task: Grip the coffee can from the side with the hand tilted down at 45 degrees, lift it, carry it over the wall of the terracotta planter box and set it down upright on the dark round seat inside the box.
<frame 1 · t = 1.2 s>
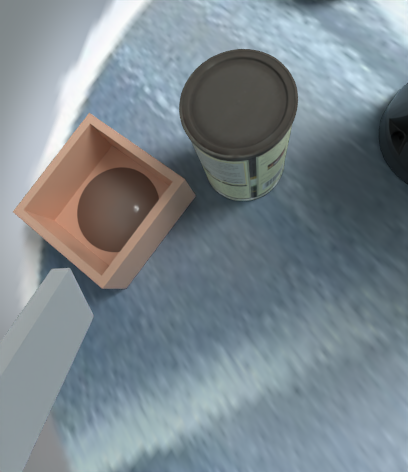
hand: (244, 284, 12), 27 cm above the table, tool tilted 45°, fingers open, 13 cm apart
coffee can: (243, 164, 42), on the table
planter box: (119, 209, 43), on the table
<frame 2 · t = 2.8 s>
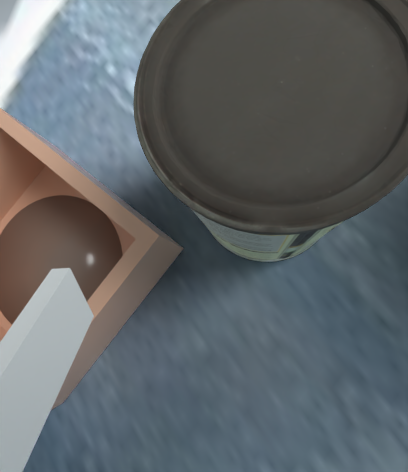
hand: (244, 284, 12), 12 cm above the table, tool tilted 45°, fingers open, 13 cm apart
coffee can: (264, 196, 25), on the table
planter box: (58, 265, 26), on the table
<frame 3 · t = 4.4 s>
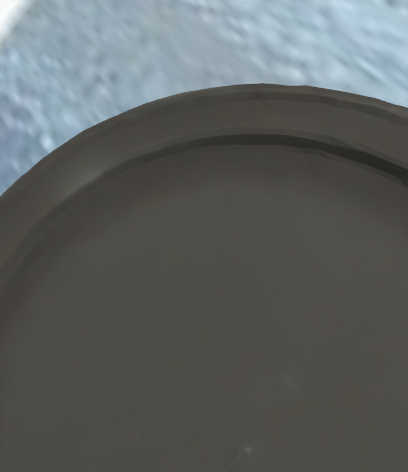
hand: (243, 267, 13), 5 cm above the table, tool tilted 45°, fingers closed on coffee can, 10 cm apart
coffee can: (250, 329, 18), on the table, touching gripper
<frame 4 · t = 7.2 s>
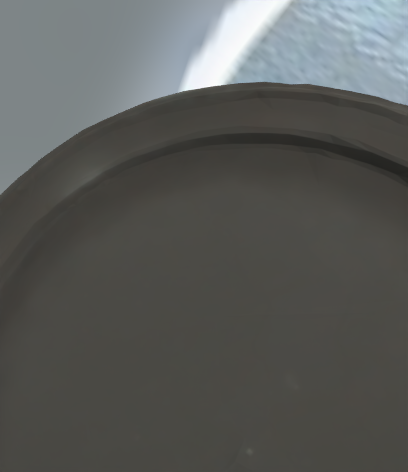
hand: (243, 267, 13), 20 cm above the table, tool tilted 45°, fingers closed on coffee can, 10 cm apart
coffee can: (250, 329, 18), point 14 cm above the table, touching gripper
when the fingers open (8 cm above the table, at t = 10.0 s): coffee can drops 2 cm, resting on planter box.
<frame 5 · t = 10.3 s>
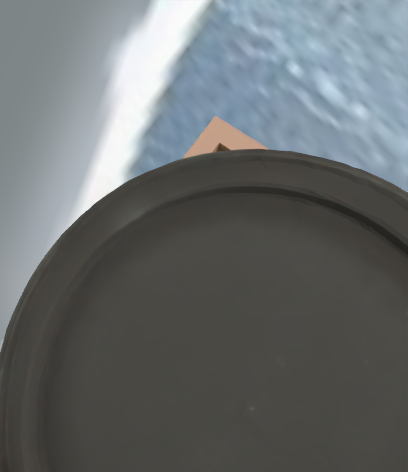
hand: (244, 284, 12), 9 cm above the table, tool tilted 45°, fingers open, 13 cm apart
coffee can: (250, 327, 20), resting on planter box
planter box: (251, 325, 20), on the table
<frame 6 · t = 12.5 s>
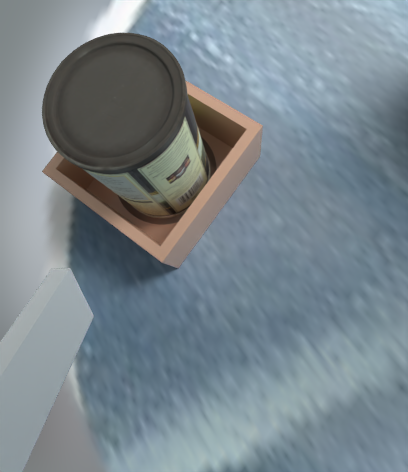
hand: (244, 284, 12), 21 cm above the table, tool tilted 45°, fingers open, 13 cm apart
coffee can: (164, 174, 36), resting on planter box
planter box: (165, 175, 36), on the table
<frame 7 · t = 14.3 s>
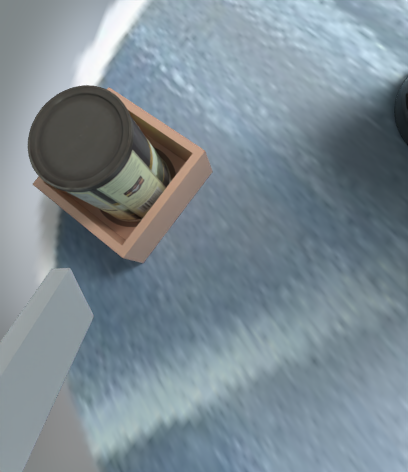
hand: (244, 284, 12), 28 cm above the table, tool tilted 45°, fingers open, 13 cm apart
coffee can: (134, 185, 43), resting on planter box
planter box: (135, 185, 44), on the table
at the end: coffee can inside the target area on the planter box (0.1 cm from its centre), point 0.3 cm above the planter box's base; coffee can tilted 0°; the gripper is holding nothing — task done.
